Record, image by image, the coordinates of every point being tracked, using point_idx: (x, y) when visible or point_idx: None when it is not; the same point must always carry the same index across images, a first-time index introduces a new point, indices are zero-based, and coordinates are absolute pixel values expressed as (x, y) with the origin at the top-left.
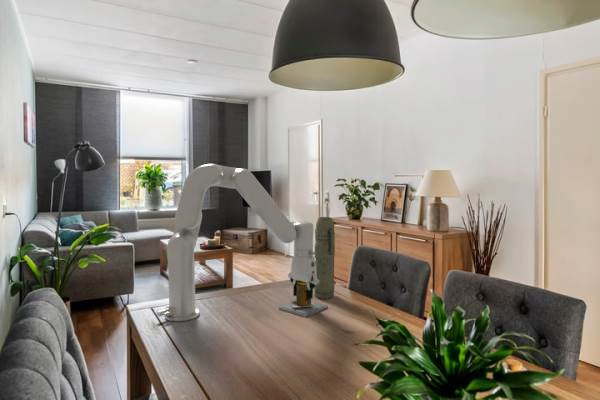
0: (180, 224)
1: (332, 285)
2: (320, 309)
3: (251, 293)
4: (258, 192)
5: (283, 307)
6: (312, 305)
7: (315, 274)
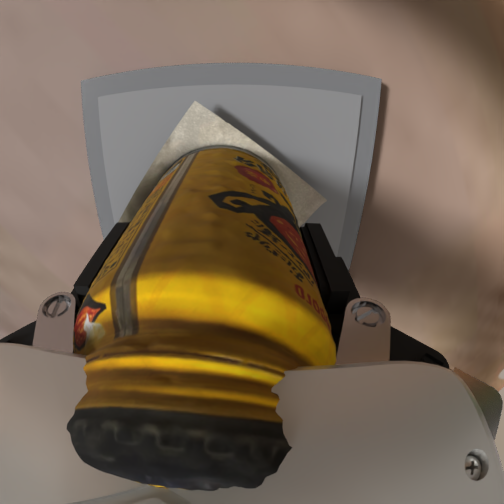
0: None
1: None
2: (368, 173)
3: None
4: None
5: None
6: (306, 193)
7: (480, 494)
